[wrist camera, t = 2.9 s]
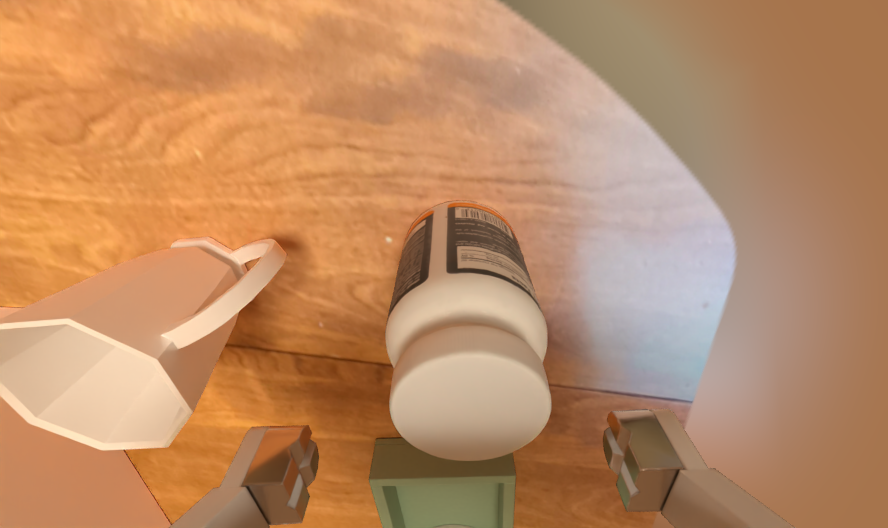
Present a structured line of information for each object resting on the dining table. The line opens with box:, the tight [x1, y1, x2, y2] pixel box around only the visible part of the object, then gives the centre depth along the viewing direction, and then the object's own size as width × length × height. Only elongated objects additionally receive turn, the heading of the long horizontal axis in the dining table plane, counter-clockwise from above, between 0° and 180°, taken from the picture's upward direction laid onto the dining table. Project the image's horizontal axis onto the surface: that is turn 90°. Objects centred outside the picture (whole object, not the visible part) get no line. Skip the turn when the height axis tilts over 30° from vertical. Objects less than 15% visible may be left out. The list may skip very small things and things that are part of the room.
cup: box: [0, 237, 287, 451], centre depth 16 cm, size 7×10×8 cm
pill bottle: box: [385, 201, 552, 461], centre depth 15 cm, size 6×6×10 cm
